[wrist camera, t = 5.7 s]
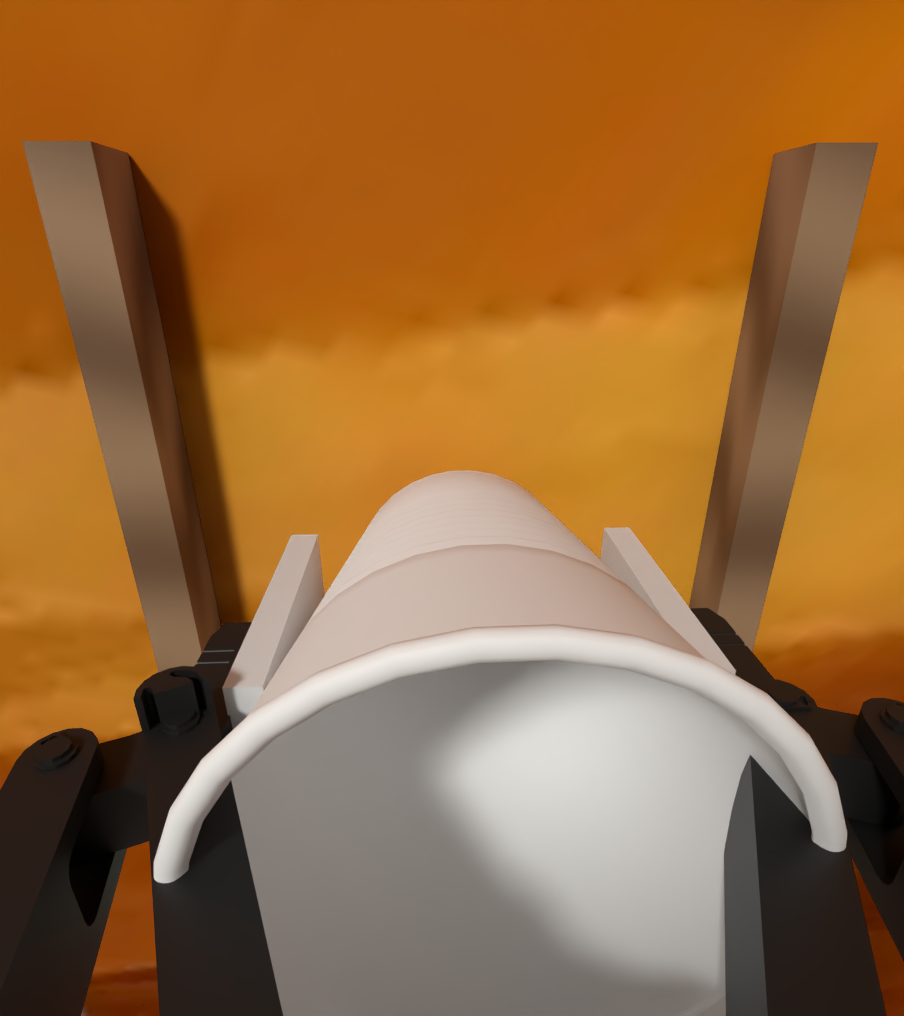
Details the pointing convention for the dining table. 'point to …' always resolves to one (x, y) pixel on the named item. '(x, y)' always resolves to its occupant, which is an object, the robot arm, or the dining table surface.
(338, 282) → the dining table surface
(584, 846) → the cup
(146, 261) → the channel
